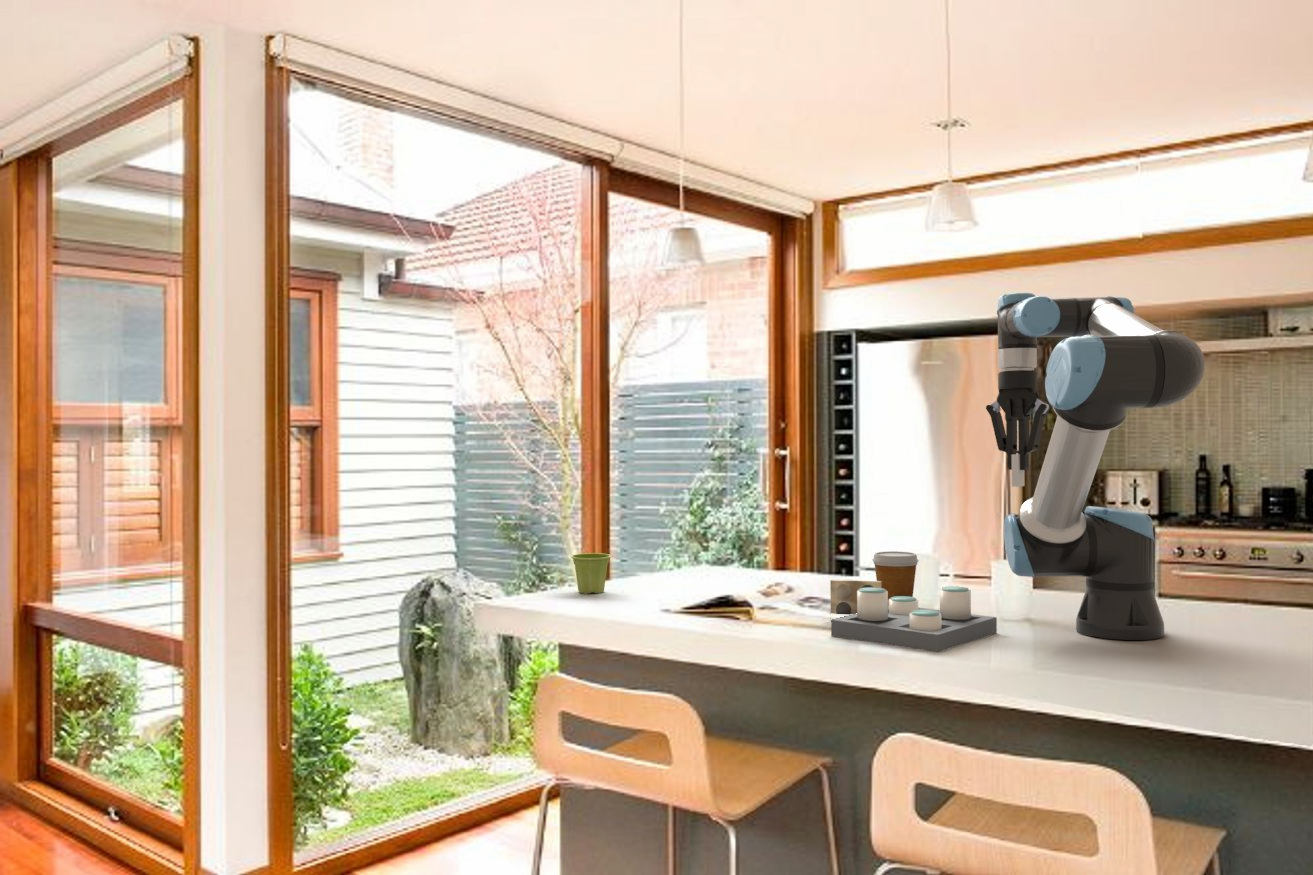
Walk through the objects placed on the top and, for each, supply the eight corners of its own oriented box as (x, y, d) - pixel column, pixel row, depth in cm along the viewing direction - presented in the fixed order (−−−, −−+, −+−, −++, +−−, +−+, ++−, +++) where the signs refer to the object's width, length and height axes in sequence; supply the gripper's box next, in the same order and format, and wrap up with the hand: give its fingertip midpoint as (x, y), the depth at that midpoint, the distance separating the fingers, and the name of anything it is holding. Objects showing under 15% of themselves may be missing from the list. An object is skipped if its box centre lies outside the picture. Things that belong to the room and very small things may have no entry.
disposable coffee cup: (919, 615, 222) (919, 556, 222) (872, 614, 224) (872, 556, 224) (918, 607, 231) (917, 551, 231) (872, 606, 233) (872, 550, 233)
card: (881, 620, 216) (881, 581, 216) (881, 622, 215) (881, 581, 215) (831, 619, 218) (830, 579, 218) (830, 620, 217) (830, 580, 217)
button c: (947, 641, 194) (947, 611, 194) (931, 646, 190) (931, 616, 190) (919, 637, 198) (919, 608, 198) (903, 642, 194) (903, 612, 194)
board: (996, 633, 203) (996, 617, 202) (937, 652, 187) (937, 634, 187) (893, 619, 218) (893, 604, 218) (831, 635, 202) (831, 619, 202)
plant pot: (618, 590, 259) (618, 554, 259) (596, 596, 251) (595, 558, 251) (587, 587, 264) (586, 552, 264) (563, 593, 256) (563, 556, 256)
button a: (976, 616, 202) (976, 587, 202) (961, 620, 198) (961, 591, 198) (949, 613, 206) (948, 585, 206) (934, 617, 202) (934, 588, 202)
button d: (893, 617, 202) (893, 589, 202) (877, 621, 198) (877, 592, 198) (867, 614, 206) (867, 586, 206) (851, 618, 202) (851, 589, 202)
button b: (923, 625, 210) (923, 597, 210) (908, 629, 206) (908, 601, 206) (898, 621, 214) (898, 594, 214) (883, 625, 210) (883, 598, 210)
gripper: (1056, 369, 218) (1057, 486, 218) (995, 372, 227) (996, 484, 227) (1040, 368, 213) (1041, 488, 213) (978, 371, 222) (979, 486, 222)
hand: (1018, 486), depth 220 cm, fingers closed
